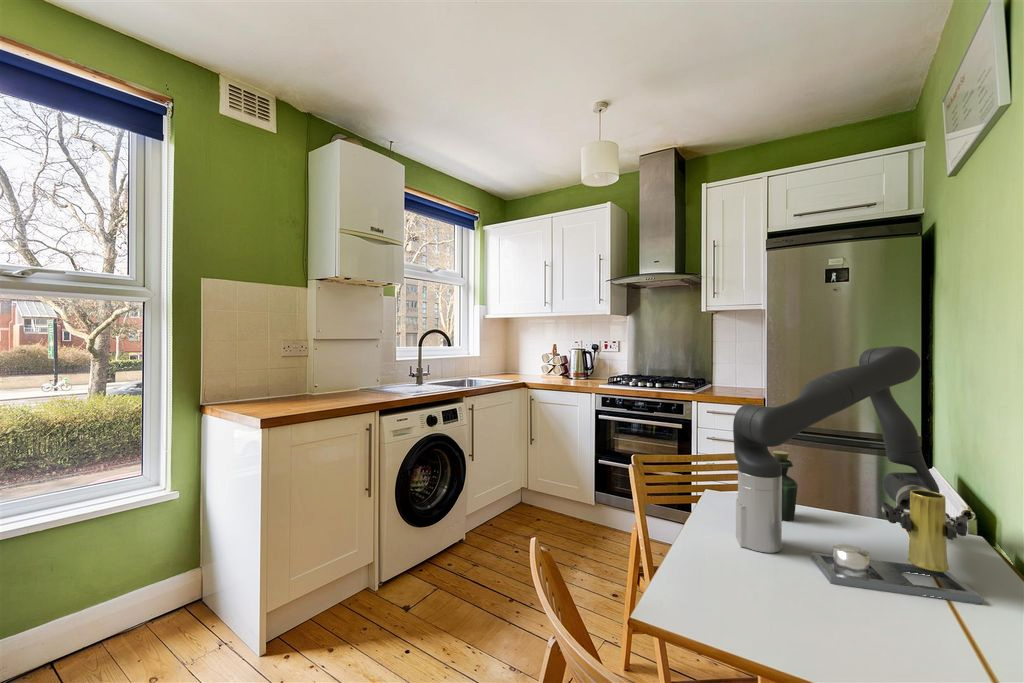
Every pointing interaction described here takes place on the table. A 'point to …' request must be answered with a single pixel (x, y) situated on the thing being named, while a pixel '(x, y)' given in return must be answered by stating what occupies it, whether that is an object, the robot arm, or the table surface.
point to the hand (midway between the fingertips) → (929, 530)
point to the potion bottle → (787, 487)
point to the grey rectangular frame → (886, 575)
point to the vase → (928, 531)
